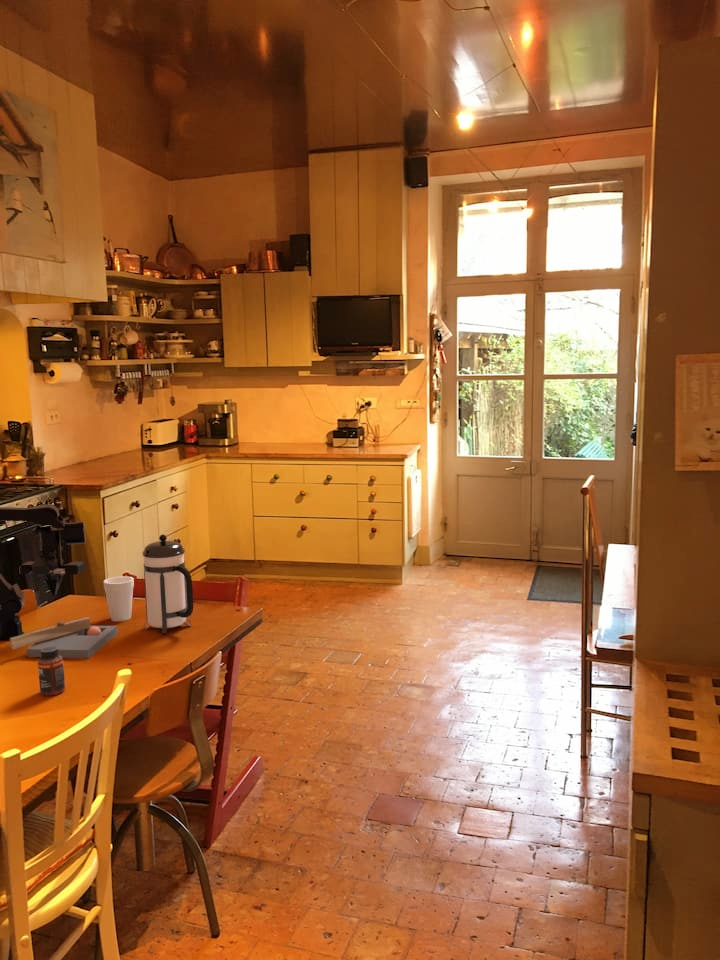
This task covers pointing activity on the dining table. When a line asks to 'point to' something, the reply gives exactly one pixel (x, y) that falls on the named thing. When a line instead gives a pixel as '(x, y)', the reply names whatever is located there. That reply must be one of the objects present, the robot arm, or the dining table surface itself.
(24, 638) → the lever
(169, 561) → the coffee press
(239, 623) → the dining table surface
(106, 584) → the foam cup
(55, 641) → the board
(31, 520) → the robot arm
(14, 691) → the dining table surface
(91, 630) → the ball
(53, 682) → the supplement bottle
